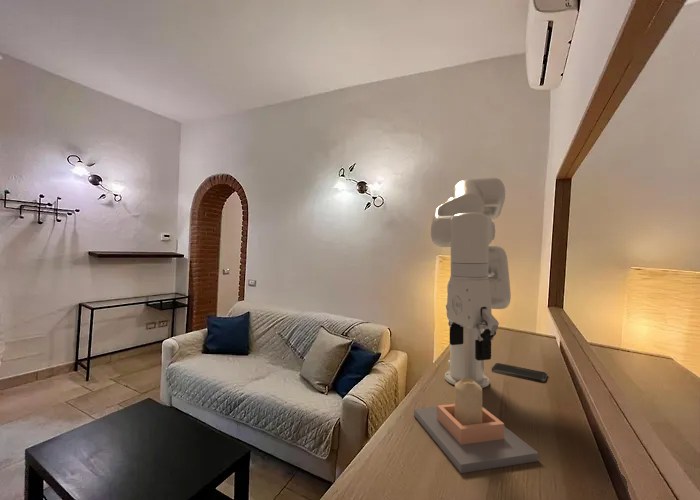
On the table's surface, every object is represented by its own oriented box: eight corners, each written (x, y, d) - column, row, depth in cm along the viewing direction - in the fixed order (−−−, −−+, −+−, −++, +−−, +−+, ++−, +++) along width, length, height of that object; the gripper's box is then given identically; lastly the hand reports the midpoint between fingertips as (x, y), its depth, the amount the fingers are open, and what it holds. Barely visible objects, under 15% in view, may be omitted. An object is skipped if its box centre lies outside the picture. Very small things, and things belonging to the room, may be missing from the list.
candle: (485, 436, 64) (485, 386, 64) (456, 433, 65) (456, 384, 65) (479, 422, 69) (479, 376, 69) (453, 419, 70) (453, 374, 70)
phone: (544, 380, 94) (490, 369, 103) (544, 384, 94) (490, 372, 103) (547, 372, 100) (496, 362, 109) (547, 376, 100) (496, 365, 109)
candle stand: (414, 415, 75) (414, 396, 75) (474, 408, 78) (474, 390, 78) (460, 473, 55) (460, 447, 55) (538, 461, 59) (538, 436, 59)
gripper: (433, 268, 75) (433, 340, 75) (478, 275, 58) (477, 368, 58) (462, 268, 76) (462, 338, 77) (513, 274, 59) (513, 365, 60)
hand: (468, 351), depth 67 cm, fingers open, 9 cm apart
